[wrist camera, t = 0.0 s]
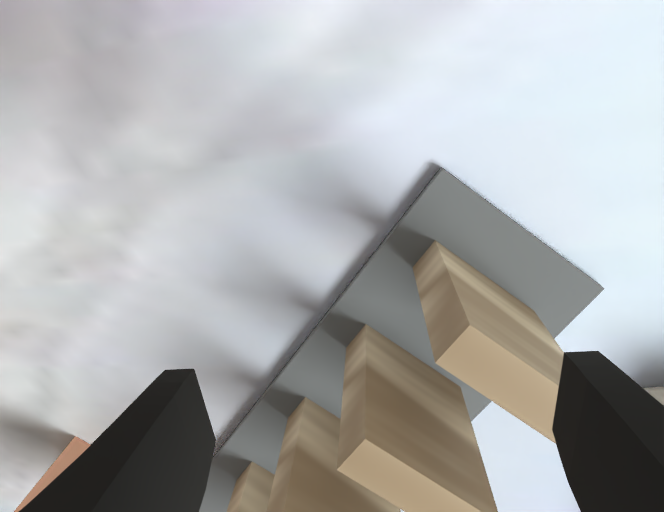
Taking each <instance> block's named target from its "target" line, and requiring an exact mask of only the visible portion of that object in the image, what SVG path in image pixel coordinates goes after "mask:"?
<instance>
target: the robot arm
mask: <svg viewBox="0 0 664 512" xmlns="http://www.w3.org/2000/svg"><path fill="white" fill-rule="evenodd" d="M552 431H553V434H554V438H555V441H556V445H557V448H558V451H559V455H560V458H561V461H562V464H563V467H564V471H565V474H566V477H567V480H568V483H569V485H570V487H571V490H572V492H573V494H574V497H575V499H576V501H577V504H578V506H579V508H580V510H581V512H664V405H662V404H661V403H660V402H659V401H658V400H656V399H655V398H654V397H653V396H652V395H650V394H649V393H648V392H647V391H646V390H644V389H643V388H642V387H641V386H640V385H638V384H637V383H636V382H635V381H634V380H632V379H631V378H630V377H629V376H628V375H626V374H625V373H624V372H623V371H622V370H620V369H619V368H618V367H617V366H616V365H614V364H613V363H612V362H611V361H610V360H608V359H607V358H606V357H605V356H604V355H602V354H601V353H600V352H599V351H587V352H564V356H563V363H562V369H561V375H560V382H559V388H558V394H557V401H556V407H555V413H554V420H553V426H552ZM215 440H216V439H215V436H214V433H213V429H212V426H211V423H210V420H209V416H208V413H207V410H206V406H205V403H204V400H203V397H202V393H201V390H200V387H199V384H198V380H197V377H196V374H195V370H194V369H177V370H165V371H164V372H163V373H161V374H160V375H159V376H158V377H157V378H156V379H155V380H154V381H153V382H152V383H151V384H150V385H149V386H148V387H147V388H146V389H145V391H144V392H143V393H142V394H141V395H140V396H139V397H138V398H137V399H136V400H135V401H134V402H133V403H132V404H131V405H130V406H129V407H128V408H127V409H126V410H125V411H124V412H123V413H122V414H121V415H120V416H119V417H118V418H117V419H116V420H115V421H114V422H113V423H112V424H111V425H110V426H109V427H108V428H107V429H106V430H105V431H104V432H103V433H102V434H101V435H100V436H99V437H98V438H97V439H96V440H95V441H94V442H93V443H92V444H91V445H90V446H89V447H88V448H87V449H86V450H85V451H84V452H83V453H82V454H81V455H80V456H79V457H78V458H77V459H76V460H75V461H74V462H73V463H71V464H70V465H69V466H68V467H67V468H66V469H65V470H64V471H63V472H62V473H61V474H60V475H58V476H57V477H56V478H55V479H54V480H53V481H52V482H51V483H50V484H49V485H48V486H47V487H46V488H44V489H43V490H42V491H41V492H40V493H39V494H38V495H37V496H36V497H35V498H34V499H33V500H31V501H30V502H29V503H28V504H27V505H26V506H25V507H23V508H22V509H21V510H20V511H19V512H199V510H200V507H201V504H202V500H203V497H204V494H205V491H206V487H207V482H208V477H209V472H210V467H211V462H212V457H213V451H214V446H215Z"/></svg>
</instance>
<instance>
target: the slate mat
mask: <svg viewBox="0 0 664 512" xmlns="http://www.w3.org/2000/svg"><path fill="white" fill-rule="evenodd" d="M435 240H436V241H437V242H438V243H440V244H441V245H443V246H444V247H445V248H447V249H448V250H450V251H451V252H452V253H454V254H455V255H457V256H458V257H459V258H461V259H462V260H464V261H465V262H466V263H468V264H469V265H471V266H472V267H473V268H475V269H476V270H478V271H479V272H480V273H482V274H483V275H485V276H486V277H487V278H489V279H490V280H492V281H493V282H494V283H496V284H497V285H499V286H500V287H501V288H503V289H504V290H506V291H507V292H508V293H510V294H511V295H513V296H514V297H515V298H517V299H518V300H520V301H521V302H522V303H524V304H525V305H527V306H528V307H530V308H531V309H532V310H534V311H535V313H536V314H537V316H538V317H539V319H540V320H541V321H542V323H543V324H544V326H545V327H546V328H547V330H548V331H549V333H550V334H551V335H552V337H553V338H555V337H556V336H557V335H558V334H559V333H560V332H561V331H562V330H563V329H564V328H565V327H566V326H567V325H568V324H569V323H570V322H571V321H572V320H573V319H574V318H575V317H576V316H577V315H578V314H579V313H580V312H581V311H582V310H584V309H585V308H586V307H587V306H588V305H589V304H590V303H591V302H592V301H593V300H594V299H595V298H596V297H597V296H598V295H599V294H600V293H601V292H602V291H603V290H604V288H603V287H602V286H601V285H600V284H598V283H597V282H596V281H594V280H593V279H592V278H590V277H589V276H588V275H586V274H585V273H583V272H582V271H581V270H579V269H578V268H577V267H575V266H574V265H573V264H571V263H570V262H569V261H567V260H566V259H565V258H563V257H562V256H561V255H559V254H558V253H556V252H555V251H554V250H552V249H551V248H550V247H548V246H547V245H546V244H544V243H543V242H542V241H540V240H539V239H538V238H536V237H535V236H534V235H532V234H531V233H529V232H528V231H527V230H525V229H524V228H523V227H521V226H520V225H519V224H517V223H516V222H515V221H513V220H512V219H511V218H509V217H508V216H507V215H505V214H504V213H503V212H501V211H500V210H498V209H497V208H496V207H494V206H493V205H492V204H490V203H489V202H488V201H486V200H485V199H484V198H482V197H481V196H480V195H478V194H477V193H476V192H474V191H473V190H471V189H470V188H469V187H467V186H466V185H465V184H463V183H462V182H461V181H459V180H458V179H457V178H455V177H454V176H453V175H451V174H450V173H449V172H447V171H446V170H444V169H443V168H442V167H441V168H440V169H439V171H438V172H437V173H436V175H435V176H434V177H433V178H432V180H431V181H430V182H429V183H428V185H427V186H426V187H425V189H424V190H423V191H422V192H421V194H420V195H419V196H418V197H417V199H416V200H415V201H414V202H413V204H412V205H411V206H410V208H409V209H408V210H407V211H406V213H405V214H404V215H403V216H402V218H401V219H400V220H399V222H398V223H397V224H396V225H395V227H394V228H393V229H392V230H391V232H390V233H389V234H388V236H387V237H386V238H385V239H384V241H383V242H382V243H381V244H380V246H379V247H378V248H377V250H376V251H375V252H374V253H373V255H372V256H371V257H370V258H369V260H368V261H367V262H366V264H365V265H364V266H363V267H362V269H361V270H360V271H359V272H358V274H357V275H356V276H355V278H354V279H353V280H352V281H351V283H350V284H349V285H348V286H347V288H346V289H345V290H344V292H343V293H342V294H341V295H340V297H339V298H338V299H337V300H336V302H335V303H334V304H333V306H332V307H331V308H330V309H329V311H328V312H327V313H326V314H325V316H324V317H323V318H322V319H321V321H320V322H319V323H318V325H317V326H316V327H315V328H314V330H313V331H312V332H311V333H310V335H309V336H308V337H307V339H306V340H305V341H304V342H303V344H302V345H301V346H300V347H299V349H298V350H297V351H296V353H295V354H294V355H293V356H292V358H291V359H290V360H289V361H288V363H287V364H286V365H285V367H284V368H283V369H282V370H281V372H280V373H279V374H278V375H277V377H276V378H275V379H274V381H273V382H272V383H271V384H270V386H269V387H268V388H267V389H266V391H265V392H264V393H263V395H262V396H261V397H260V398H259V400H258V401H257V402H256V403H255V405H254V406H253V407H252V409H251V410H250V411H249V412H248V414H247V415H246V416H245V417H244V419H243V420H242V421H241V423H240V424H239V425H238V426H237V428H236V429H235V430H234V431H233V433H232V434H231V435H230V437H229V438H228V439H227V440H226V442H225V443H224V444H223V445H222V447H221V448H220V449H219V450H218V452H217V453H216V454H215V456H214V457H213V458H212V462H211V467H210V472H209V477H208V482H207V487H206V491H205V494H204V497H203V500H202V504H201V507H200V510H199V512H227V509H228V505H229V502H230V499H231V496H232V493H233V490H234V487H235V484H236V481H237V479H238V478H239V477H240V475H241V474H242V473H243V472H244V471H245V469H246V468H247V467H248V466H249V465H250V463H251V462H254V463H256V464H257V465H259V466H261V467H262V468H264V469H266V470H267V471H269V472H271V473H272V474H274V475H275V472H276V468H277V464H278V459H279V455H280V451H281V446H282V442H283V438H284V433H285V429H286V425H287V420H288V417H289V416H290V415H291V414H292V413H293V411H294V410H295V409H296V408H297V407H298V405H299V404H300V403H301V402H302V400H303V399H304V398H305V397H306V398H308V399H309V400H311V401H312V402H314V403H316V404H317V405H319V406H320V407H322V408H324V409H325V410H327V411H328V412H330V413H332V414H333V415H335V416H336V417H338V418H340V419H341V408H342V395H343V382H344V369H345V357H346V347H347V346H348V345H349V344H350V342H351V341H352V340H353V339H354V338H355V336H356V335H357V334H358V333H359V332H360V330H361V329H362V328H363V327H364V326H365V324H367V325H368V326H370V327H371V328H373V329H374V330H376V331H377V332H379V333H380V334H382V335H383V336H385V337H386V338H388V339H389V340H391V341H392V342H394V343H395V344H397V345H398V346H400V347H401V348H403V349H404V350H406V351H407V352H409V353H410V354H412V355H413V356H415V357H416V358H418V359H419V360H421V361H422V362H424V363H425V364H427V365H428V366H430V367H431V368H433V369H434V370H436V371H437V372H439V373H440V374H442V375H443V376H445V377H446V378H448V379H449V380H451V381H452V382H454V383H455V384H457V385H458V386H460V387H461V391H462V394H463V397H464V401H465V404H466V407H467V411H468V414H469V417H470V421H472V420H473V419H474V418H475V417H476V416H477V415H478V414H479V413H480V412H481V411H482V410H483V409H484V408H485V407H486V406H487V405H488V404H489V403H490V402H491V400H490V399H488V398H487V397H485V396H484V395H482V394H481V393H479V392H478V391H476V390H475V389H473V388H472V387H470V386H469V385H467V384H466V383H464V382H463V381H461V380H460V379H458V378H457V377H455V376H454V375H452V374H451V373H449V372H448V371H446V370H445V369H443V368H442V367H440V366H439V365H438V364H436V363H435V361H434V356H433V352H432V348H431V344H430V339H429V335H428V331H427V327H426V322H425V318H424V314H423V310H422V305H421V301H420V297H419V293H418V288H417V284H416V280H415V276H414V272H413V266H414V265H415V264H416V263H417V262H418V260H419V259H420V258H421V257H422V256H423V254H424V253H425V252H426V251H427V249H428V248H429V247H430V246H431V245H432V243H433V242H434V241H435Z"/></svg>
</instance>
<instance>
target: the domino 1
mask: <svg viewBox="0 0 664 512" xmlns="http://www.w3.org/2000/svg"><path fill="white" fill-rule="evenodd" d="M89 446H90V444H88V443H87V442H85V441H83V440H81V439H80V438H78V437H76V436H75V437H74V438H73V439H72V441H71V442H70V443H69V444H68V446H67V447H66V448H65V449H64V450H63V452H62V453H61V454H60V455H59V457H58V458H57V459H56V460H55V462H54V463H53V464H52V465H51V467H50V468H49V469H48V470H47V471H46V473H45V474H44V475H43V476H42V478H41V479H40V480H39V481H38V483H37V484H36V485H35V486H34V487H33V489H32V490H31V491H30V492H29V494H28V495H27V496H26V497H25V499H24V500H23V501H22V502H21V504H20V505H19V506H18V507H17V508H16V510H15V511H14V512H19V511H20V510H21V509H22V508H23V507H25V506H26V505H27V504H28V503H29V502H30V501H31V500H33V499H34V498H35V497H36V496H37V495H38V494H39V493H40V492H41V491H42V490H43V489H44V488H46V487H47V486H48V485H49V484H50V483H51V482H52V481H53V480H54V479H55V478H56V477H57V476H58V475H60V474H61V473H62V472H63V471H64V470H65V469H66V468H67V467H68V466H69V465H70V464H71V463H73V462H74V461H75V460H76V459H77V458H78V457H79V456H80V455H81V454H82V453H83V452H84V451H85V450H86V449H87V448H88V447H89Z"/></svg>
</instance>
